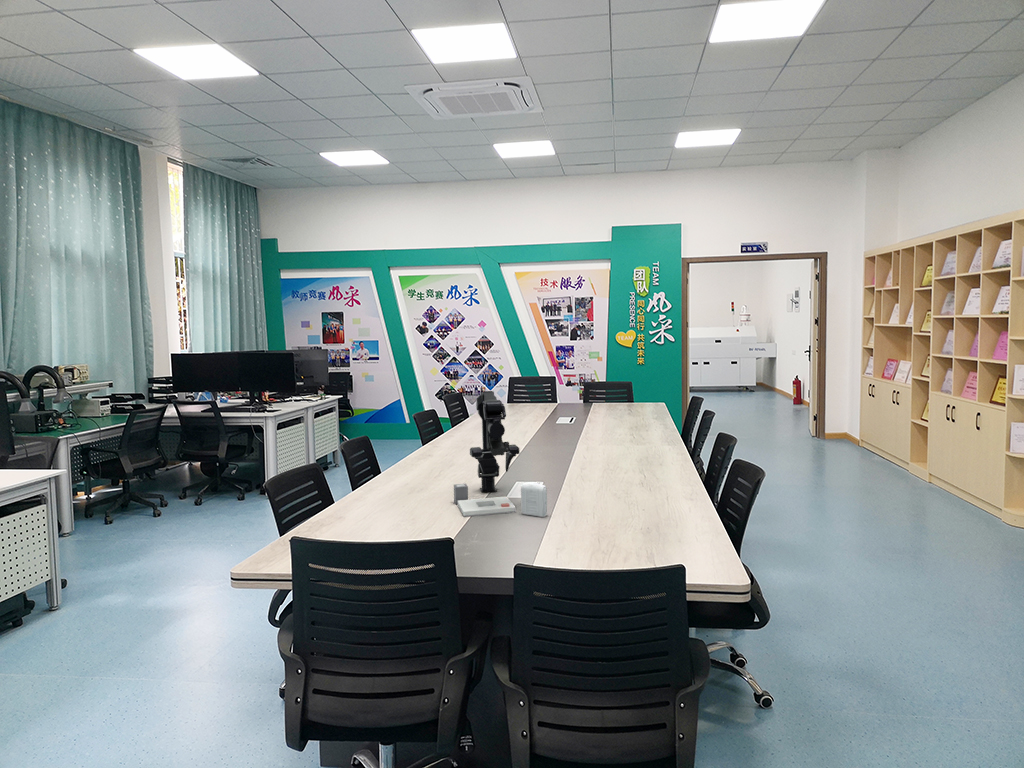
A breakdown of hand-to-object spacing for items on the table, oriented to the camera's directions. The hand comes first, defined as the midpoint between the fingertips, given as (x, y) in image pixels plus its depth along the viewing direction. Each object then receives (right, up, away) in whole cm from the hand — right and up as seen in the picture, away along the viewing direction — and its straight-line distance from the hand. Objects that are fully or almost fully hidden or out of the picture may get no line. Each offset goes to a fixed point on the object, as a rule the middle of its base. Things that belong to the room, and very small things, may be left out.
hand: (495, 472), depth 261 cm
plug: (-14, -13, +10) cm, 22 cm away
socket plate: (-4, -14, 0) cm, 15 cm away
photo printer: (+15, -15, -9) cm, 23 cm away
